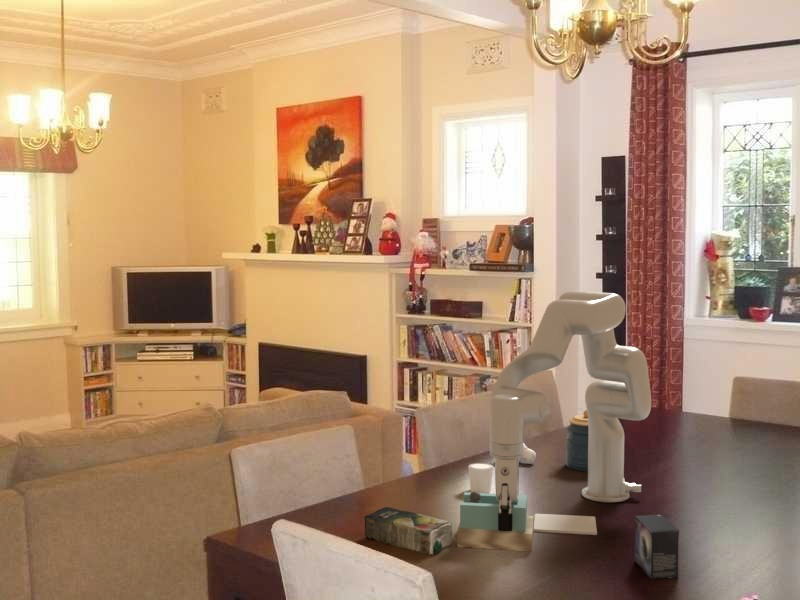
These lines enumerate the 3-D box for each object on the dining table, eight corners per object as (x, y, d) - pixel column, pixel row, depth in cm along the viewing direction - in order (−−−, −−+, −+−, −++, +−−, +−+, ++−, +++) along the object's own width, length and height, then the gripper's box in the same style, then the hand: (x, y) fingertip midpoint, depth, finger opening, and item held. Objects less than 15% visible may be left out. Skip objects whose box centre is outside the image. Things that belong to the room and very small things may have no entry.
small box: (632, 561, 200) (633, 514, 200) (661, 560, 201) (662, 513, 200) (649, 579, 190) (650, 530, 189) (679, 578, 190) (680, 529, 190)
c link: (527, 517, 218) (527, 495, 217) (525, 531, 208) (525, 508, 207) (464, 514, 220) (464, 492, 220) (460, 528, 210) (460, 504, 210)
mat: (595, 518, 229) (595, 516, 229) (596, 534, 217) (597, 532, 217) (534, 515, 231) (534, 513, 231) (533, 531, 220) (533, 529, 220)
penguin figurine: (506, 430, 288) (541, 438, 282) (504, 456, 290) (538, 465, 283) (497, 434, 283) (532, 442, 277) (495, 460, 284) (530, 469, 278)
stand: (533, 532, 219) (533, 486, 218) (531, 551, 206) (532, 502, 205) (463, 528, 222) (463, 483, 221) (457, 547, 209) (457, 499, 208)
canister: (561, 469, 274) (562, 412, 273) (570, 459, 286) (570, 404, 285) (605, 474, 270) (606, 415, 268) (612, 463, 281) (613, 407, 280)
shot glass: (491, 494, 250) (491, 469, 249) (466, 493, 251) (466, 468, 250) (494, 487, 256) (494, 463, 256) (469, 486, 258) (469, 462, 257)
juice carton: (457, 544, 212) (457, 518, 211) (434, 557, 204) (434, 530, 203) (387, 529, 223) (386, 504, 223) (363, 541, 215) (362, 515, 215)
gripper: (521, 459, 199) (520, 540, 200) (524, 440, 216) (523, 515, 217) (487, 457, 200) (486, 538, 202) (492, 439, 217) (492, 513, 218)
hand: (505, 525), depth 209 cm, fingers open, 5 cm apart
